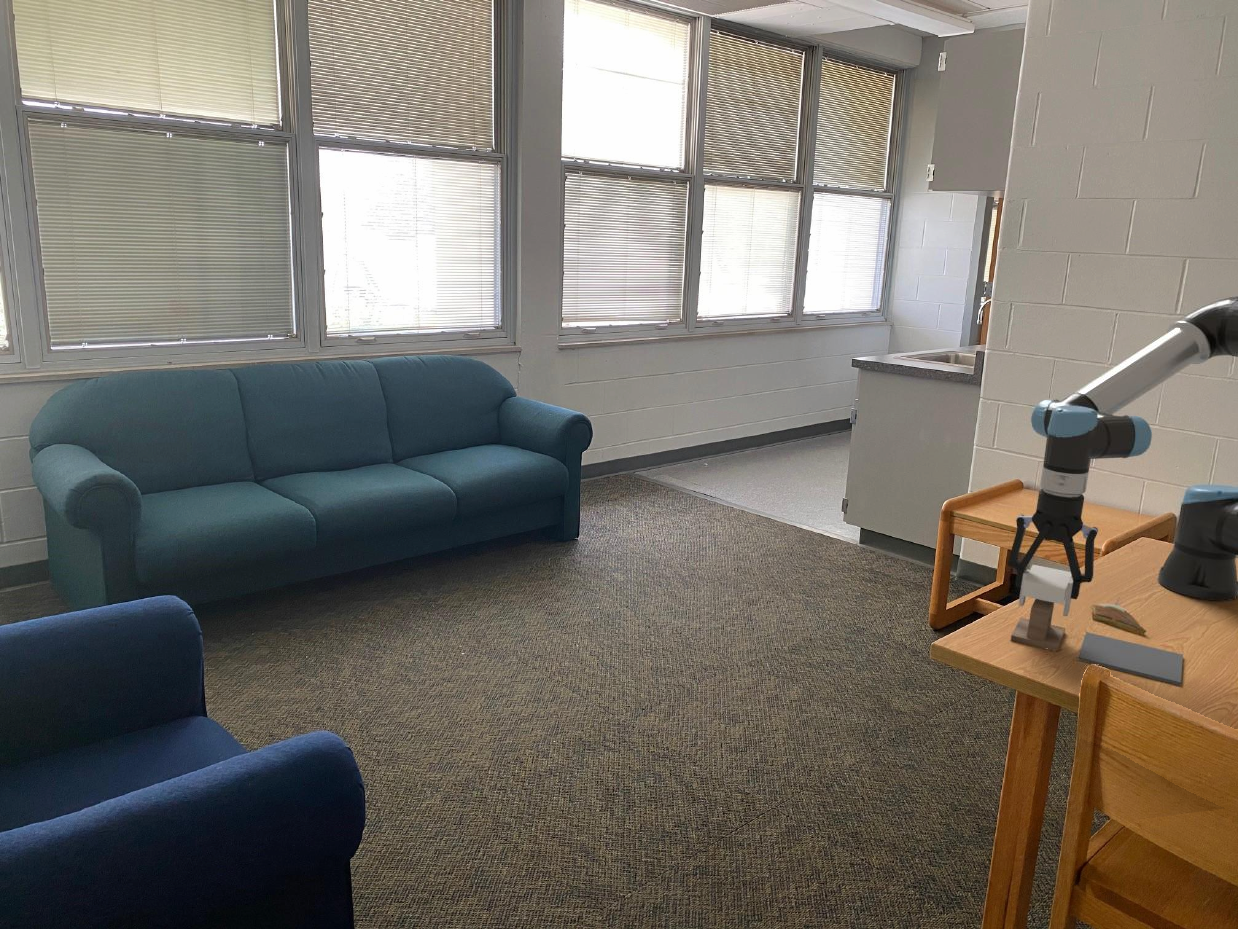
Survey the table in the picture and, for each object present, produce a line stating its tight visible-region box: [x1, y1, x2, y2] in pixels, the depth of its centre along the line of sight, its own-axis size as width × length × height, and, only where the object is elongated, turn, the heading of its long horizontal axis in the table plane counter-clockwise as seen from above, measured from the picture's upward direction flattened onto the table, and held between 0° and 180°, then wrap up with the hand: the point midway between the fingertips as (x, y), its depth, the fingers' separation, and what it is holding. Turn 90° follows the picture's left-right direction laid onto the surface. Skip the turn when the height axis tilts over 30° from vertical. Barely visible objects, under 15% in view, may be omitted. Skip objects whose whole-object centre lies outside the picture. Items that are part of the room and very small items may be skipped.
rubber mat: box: [1077, 631, 1184, 686], centre depth 168 cm, size 16×13×1 cm
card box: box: [1022, 564, 1072, 606], centre depth 173 cm, size 10×7×3 cm
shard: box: [1090, 604, 1148, 636], centre depth 183 cm, size 11×8×2 cm
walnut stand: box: [1010, 598, 1066, 652], centre depth 175 cm, size 10×8×7 cm
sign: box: [1098, 597, 1128, 612], centre depth 193 cm, size 5×1×15 cm
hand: (1043, 608), depth 174 cm, fingers closed on card box, 7 cm apart
